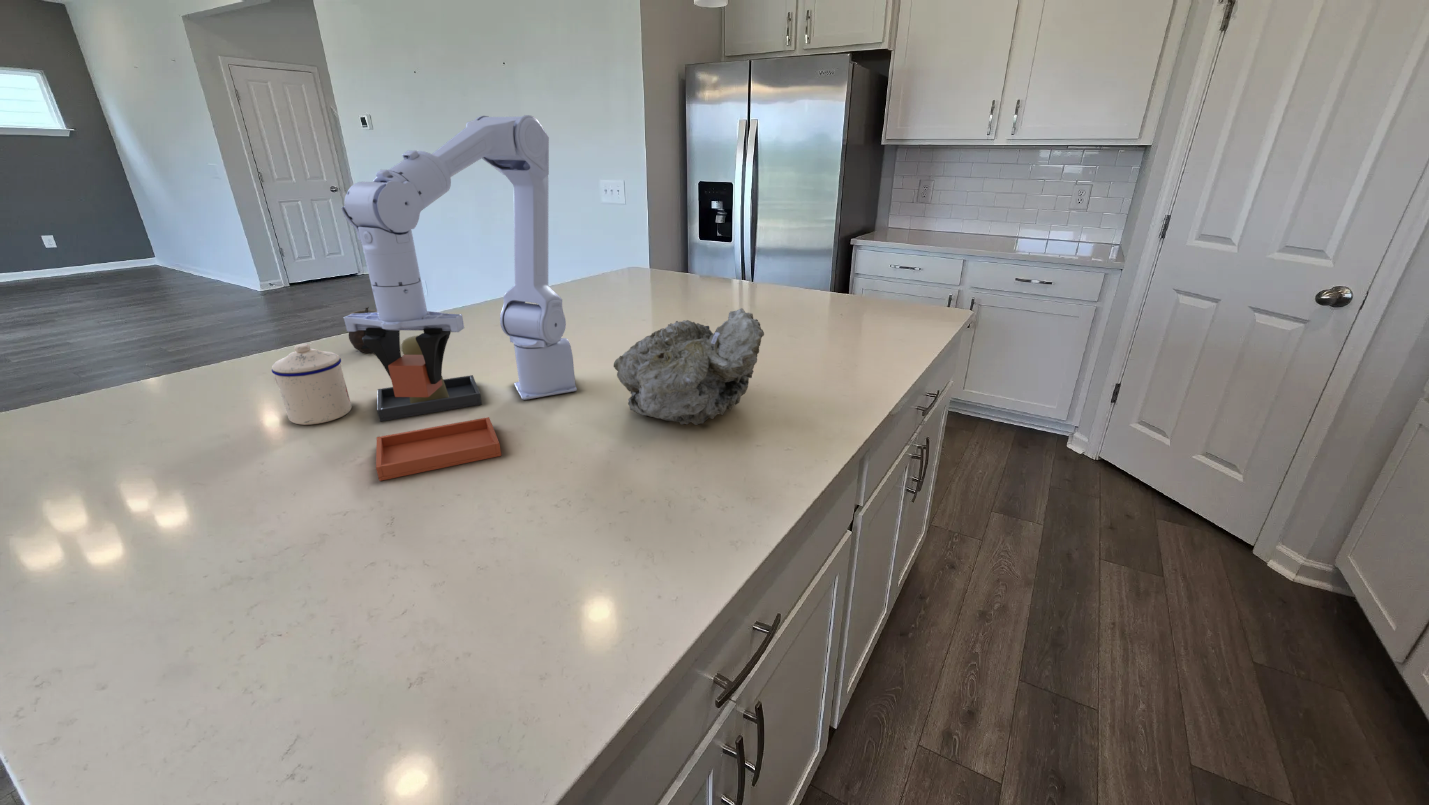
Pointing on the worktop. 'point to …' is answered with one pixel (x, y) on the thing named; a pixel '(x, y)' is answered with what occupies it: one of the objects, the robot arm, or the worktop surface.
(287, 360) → the lidded enamel canister
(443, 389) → the cork
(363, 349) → the mate gourd
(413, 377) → the terracotta block
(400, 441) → the terracotta tray
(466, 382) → the charcoal tray
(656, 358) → the rock
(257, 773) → the worktop surface
